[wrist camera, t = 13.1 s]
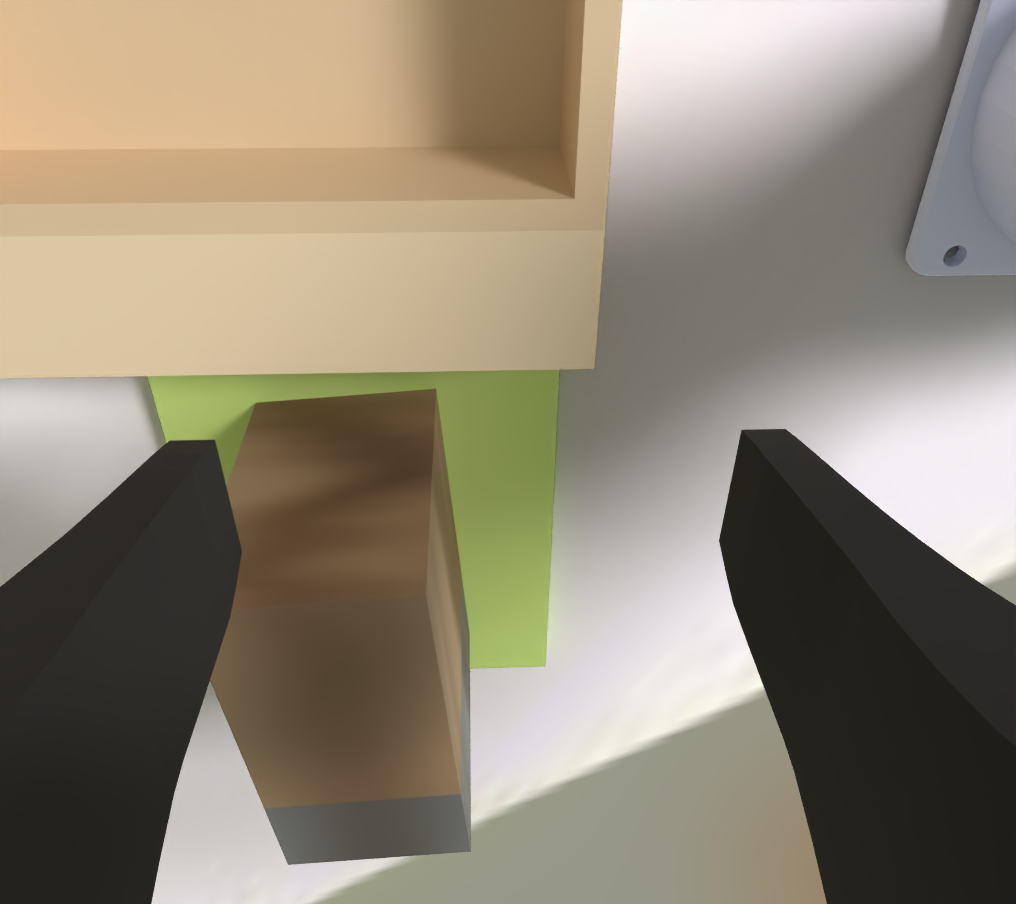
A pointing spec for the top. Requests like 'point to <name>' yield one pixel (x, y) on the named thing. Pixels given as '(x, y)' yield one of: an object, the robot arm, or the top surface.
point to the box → (350, 629)
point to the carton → (303, 185)
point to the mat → (471, 471)
